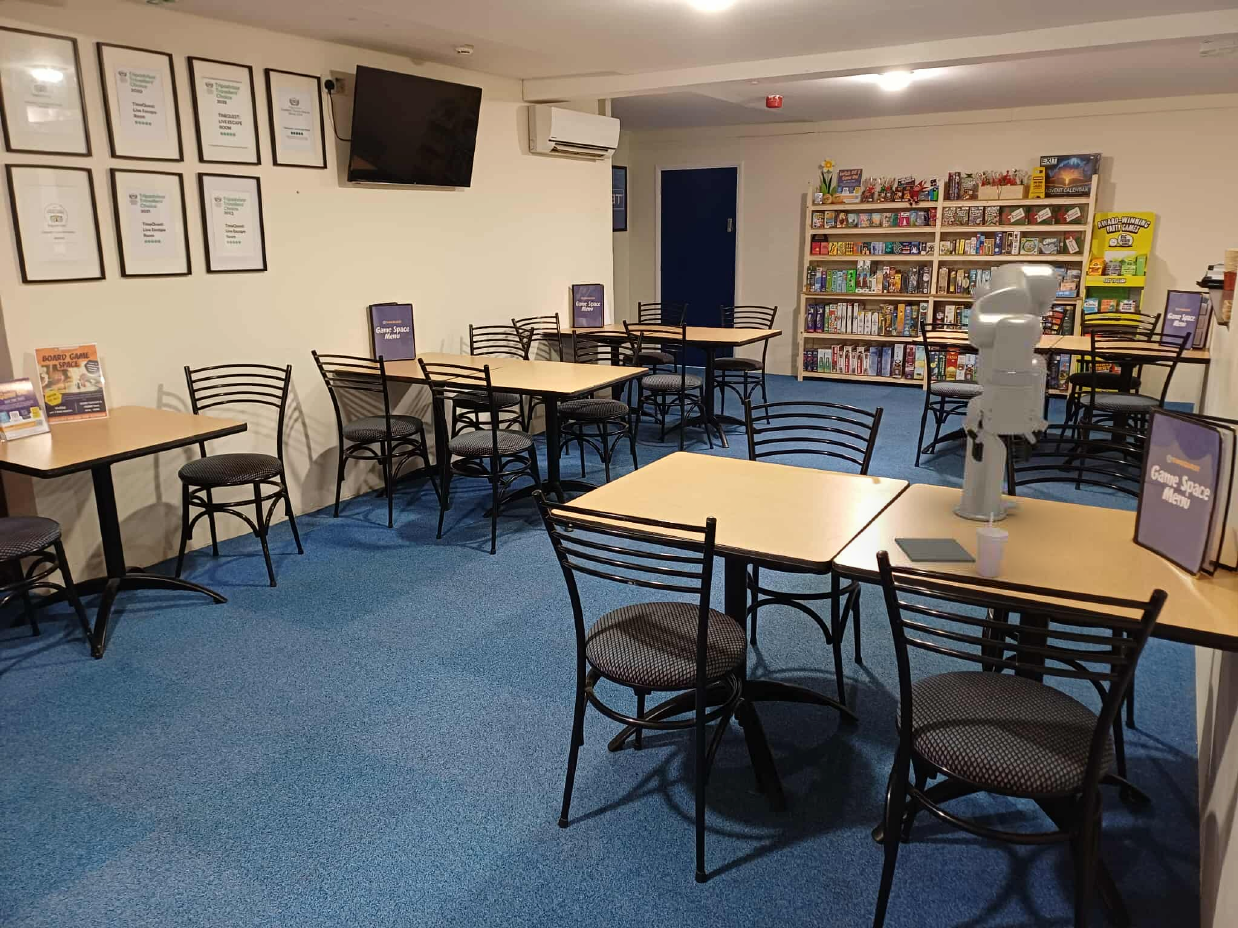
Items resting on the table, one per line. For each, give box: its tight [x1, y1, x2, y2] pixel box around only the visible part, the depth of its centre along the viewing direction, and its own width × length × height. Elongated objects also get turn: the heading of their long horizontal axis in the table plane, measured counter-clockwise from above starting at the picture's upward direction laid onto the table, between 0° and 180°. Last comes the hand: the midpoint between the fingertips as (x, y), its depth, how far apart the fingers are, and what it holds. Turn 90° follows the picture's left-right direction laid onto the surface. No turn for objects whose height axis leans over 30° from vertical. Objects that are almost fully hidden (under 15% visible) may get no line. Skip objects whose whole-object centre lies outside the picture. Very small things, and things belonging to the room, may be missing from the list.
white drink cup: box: [975, 512, 1009, 578], centre depth 184 cm, size 6×6×14 cm
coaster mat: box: [894, 537, 977, 563], centre depth 200 cm, size 14×14×1 cm
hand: (1000, 460), depth 180 cm, fingers open, 9 cm apart
